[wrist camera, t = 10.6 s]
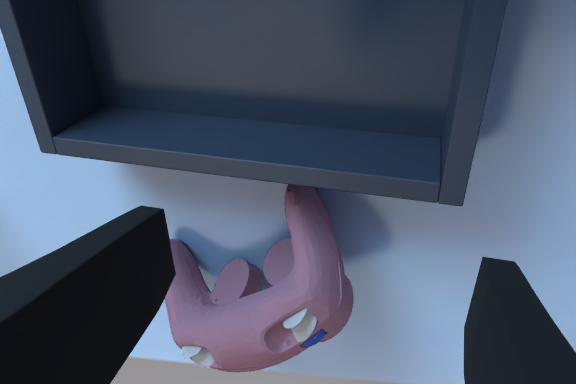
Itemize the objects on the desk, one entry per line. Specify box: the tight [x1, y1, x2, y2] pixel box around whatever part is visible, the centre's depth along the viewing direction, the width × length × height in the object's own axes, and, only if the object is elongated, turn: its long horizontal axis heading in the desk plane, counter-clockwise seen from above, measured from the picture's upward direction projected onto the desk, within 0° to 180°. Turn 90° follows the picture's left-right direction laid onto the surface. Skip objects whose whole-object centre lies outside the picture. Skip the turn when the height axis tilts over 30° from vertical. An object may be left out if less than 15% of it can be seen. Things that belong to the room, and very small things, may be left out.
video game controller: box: [164, 184, 353, 372], centre depth 22 cm, size 10×5×7 cm, turn 126°
